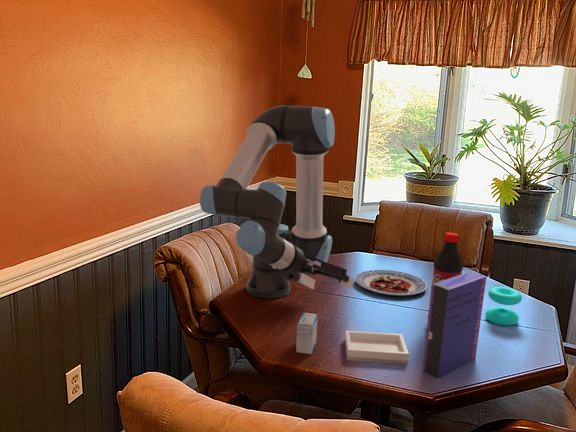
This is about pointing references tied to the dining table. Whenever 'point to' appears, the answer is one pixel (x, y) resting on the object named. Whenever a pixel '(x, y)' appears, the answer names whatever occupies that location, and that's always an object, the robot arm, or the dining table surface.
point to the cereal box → (453, 323)
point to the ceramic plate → (391, 282)
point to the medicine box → (306, 333)
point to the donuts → (502, 313)
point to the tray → (376, 347)
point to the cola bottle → (448, 260)
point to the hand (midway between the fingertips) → (332, 284)
